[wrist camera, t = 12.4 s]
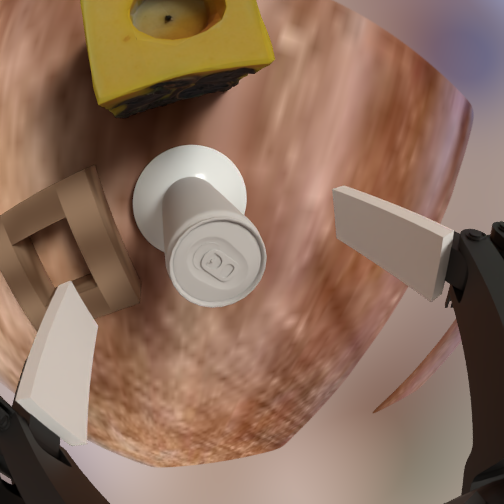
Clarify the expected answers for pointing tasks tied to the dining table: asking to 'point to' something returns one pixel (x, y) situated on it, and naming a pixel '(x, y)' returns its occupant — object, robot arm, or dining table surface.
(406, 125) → the dining table surface
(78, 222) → the socket block
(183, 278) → the beverage can
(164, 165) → the white round domed part
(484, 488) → the robot arm
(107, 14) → the candle
